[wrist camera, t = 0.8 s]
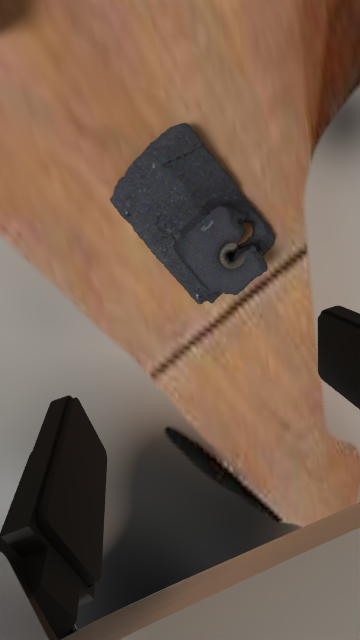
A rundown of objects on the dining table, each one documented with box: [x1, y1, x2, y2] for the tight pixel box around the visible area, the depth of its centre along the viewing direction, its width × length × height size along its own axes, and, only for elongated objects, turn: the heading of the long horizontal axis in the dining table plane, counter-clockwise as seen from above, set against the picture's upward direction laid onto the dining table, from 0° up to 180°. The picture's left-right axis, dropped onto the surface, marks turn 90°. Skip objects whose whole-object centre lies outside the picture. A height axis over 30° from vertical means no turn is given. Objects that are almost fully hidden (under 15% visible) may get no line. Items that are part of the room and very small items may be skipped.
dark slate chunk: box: [110, 123, 275, 304], centre depth 33 cm, size 15×22×5 cm
